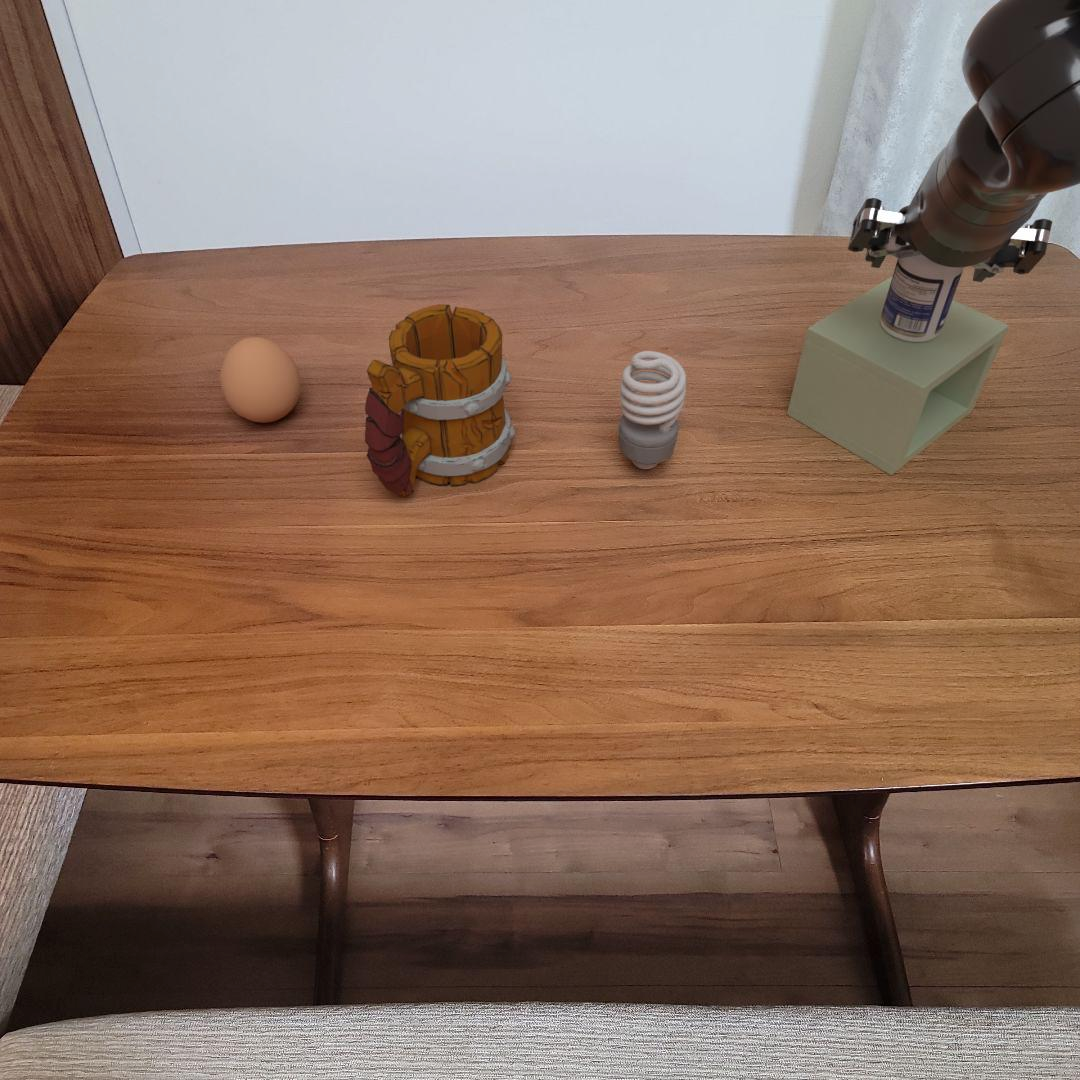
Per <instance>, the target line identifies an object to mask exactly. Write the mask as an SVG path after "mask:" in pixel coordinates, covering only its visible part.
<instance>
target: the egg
mask: <svg viewBox="0 0 1080 1080" xmlns="http://www.w3.org/2000/svg"><path fill="white" fill-rule="evenodd" d="M219 374H220V375H219V385H220V389H221V392H222V396H223V398H224V400H225V402H226V404H227V405H228V407H230V409H231V410H232V411H233V412H234V413H236V414H237V415H238V416H240V417H242V418H244V419H245V420H247V421H251V422H255V423H265V424H266V423H272V422H275V421H278V420H281V419H282V418H285V417H286V416H287V415H288V414H289V413H290V412H291V411H292V410H293V409H294V407H295V406H296V405H297V403H298V401H299V398H300V395H301V390H302V382H301V376H300V372H299V369H298V367H297V363H296V362H295V360H294V358H293V357H292V356H291V355H290V354H289V353H288V351H286V350H285V348H283V347H282V346H280V345H279V343H276V342H274V341H273V340H270V339H268V338H266V337H261V336H260V337H259V336H250V337H246V338H243V339H240V340H239V341H237V342H236V343H234V345H232V346H231V347H230V348H229V349H228V351H227V352H226V355H225V356H224V358H223V361H222V364H221V368H220V372H219Z"/></svg>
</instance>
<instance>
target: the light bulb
mask: <svg viewBox="0 0 1080 1080" xmlns="http://www.w3.org/2000/svg"><path fill="white" fill-rule="evenodd" d="M630 361H631V363H630V364H629V365H626V367H624V369H623V371H622V373H621V380H620V384H619V389H620V390H619V391H620V393H619V401H620V403H621V407H620V410H621V413H622V415H621V416H620V419H619V423H618V446H619V450H620V452H621V453H622V455H623V456H625V457H626V458H627V459H628V460H630V461H631V462H632V463H633V465H634V466H635V467H636V468H639V469H642V470H650V469H653V468H655V467H657V465H658V464H659V463H662V462H665V461H666V460H668V459H670V457H672V455H673V454H674V452H675V448H676V444H677V441H678V438H679V437H678V436H679V431H680V430H679V427H680V425H679V420H678V419H679V416H680V415H681V414H680V413H681V411H682V409H683V407H684V404H685V397H686V393H687V386H686V385H687V374H686V371H685V369H684V367H683V366H682V365H681V363H680V362H679V361H678V360H676V358H674V357H672V356H670V355H668V354H666V353H663V352H659V351H653V350H643V351H639V352H637V353H635V354H634V355H633V356H632V357H631V359H630ZM648 370H649V371H648ZM649 381H652V382H649ZM654 382H656V383H654ZM640 393H643V394H640ZM646 394H654V395H646Z"/></svg>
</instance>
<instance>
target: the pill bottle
mask: <svg viewBox="0 0 1080 1080" xmlns="http://www.w3.org/2000/svg"><path fill="white" fill-rule="evenodd" d="M906 245H909V243H907V244H906ZM896 260H897V261H896V263H895V268H894V269H893V270H894V271H893V273H892V276H893V277H892V280H891V284H890V287H889V291H888V294H887V297H886V300H885V304H884V307H883V311H882V314H881V319H880V322H881V326H882V327H883V329H884V330H885V331H886V332H887V333H889V334H890V335H892V336H893V337H895V338H898V339H900V340H904V341H908V342H925V341H929V340H932V339H934V338H935V337H937V336H938V335H939V334H940V332H941V330H942V328H943V325H944V322H945V320H946V317H947V314H948V311H949V308H950V305H951V303H952V300H954V297H955V294H956V291H957V289H958V285H959V283H960V280H961V277H962V275H963V272H964V269H965V267H947V266H943V265H940V264H937V263H935V262H933V261H931V260H929V259H928V258H926V257H925V256H923V255H917V256H912V257H906V258H901V259H899V258H897V259H896Z"/></svg>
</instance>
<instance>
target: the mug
mask: <svg viewBox="0 0 1080 1080" xmlns="http://www.w3.org/2000/svg"><path fill="white" fill-rule="evenodd" d="M503 336H504V335H503V332H502V329H501V326H500V325H499V324H497V323H496V321H495V319H494V318H492V317H491V316H488V315H486V314H485V313H484V312H482V311H479V310H476V309H471V308H468V307H460V306H455V307H454V308H453V311H452V309H451V305H450V304H442V303H441V304H435V305H430V306H427V307H423V308H420V309H418V310H415V311H413V312H411V313H409V314H408V315H406V316H405V317H404V319H402V320H400V321H399V322H398V323H397V324H395V329H393V330H391V332H390V334H389V336H388V347H389V352H390V359H391V364H389V363H386V362H384V361H382V360H379V359H373V360H371V362H370V363H369V365H368V368H367V370H366V372H367V375H368V376H367V377H368V379H369V381H370V384H371V387H369V389H368V393H367V396H366V399H365V406H364V411H365V414H366V415H367V416H366V417H365V428H364V442H365V444H366V445H367V446H368V448H367V454H366V457H367V459H368V461H369V463H370V467H371V470H372V472H373V473H374V474H375V475H376V476H377V478H378V479H379V482H380V483H381V484H382V486H383V487H384V489H386V490H387V491H389V492H391V493H392V494H397V495H398V496H401V497H407V496H408V495H409V494H410V493H411V494H413V493H414V487H415V484H416V478H418V479H421V480H423V481H425V482H427V483H428V484H433V485H436V486H448V485H449V484H450V485H451V486H452V487H455V486H465V485H466V484H467V482H469V483H474V484H475V483H478V482H480V481H483V480H484V479H487V478H489V477H491V476H492V475H493V474H495V473H496V472H497V471H498V470H499V466H500V465H504V464H505V463H506V461H507V459H508V457H509V453H510V449H511V443H512V439H514V438H515V436H516V430H515V427H514V426H512V420H511V417H510V414H509V412H508V410H507V408H506V407H505V399H504V394H505V392H506V390H507V386H509V385H510V384H511V381H512V375H511V374H510V371H508V368H507V363H506V359H505V357H504V356H503Z"/></svg>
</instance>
